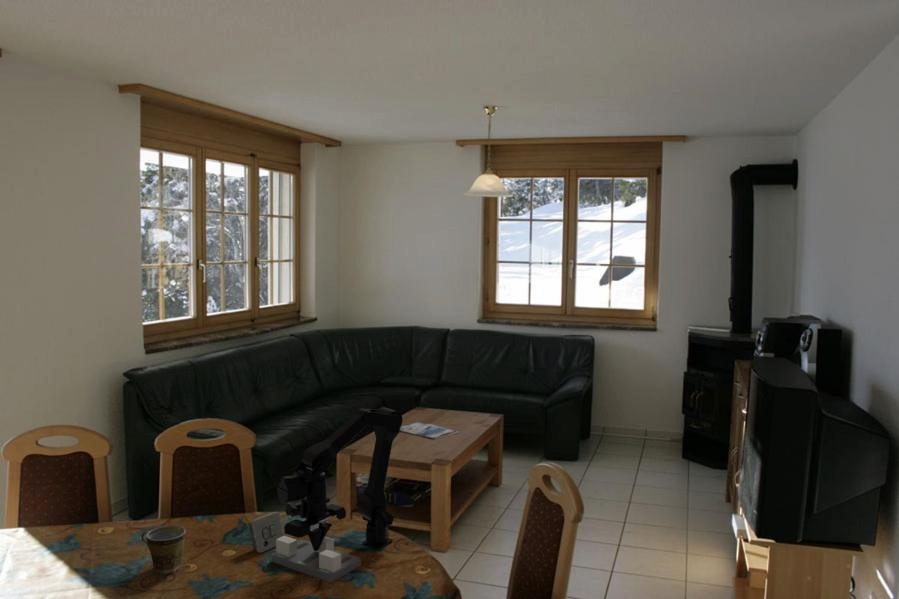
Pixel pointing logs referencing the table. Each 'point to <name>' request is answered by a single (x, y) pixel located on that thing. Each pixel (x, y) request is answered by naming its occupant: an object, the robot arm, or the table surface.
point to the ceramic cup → (165, 547)
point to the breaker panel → (313, 559)
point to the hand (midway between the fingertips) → (316, 550)
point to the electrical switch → (265, 531)
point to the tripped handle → (326, 545)
